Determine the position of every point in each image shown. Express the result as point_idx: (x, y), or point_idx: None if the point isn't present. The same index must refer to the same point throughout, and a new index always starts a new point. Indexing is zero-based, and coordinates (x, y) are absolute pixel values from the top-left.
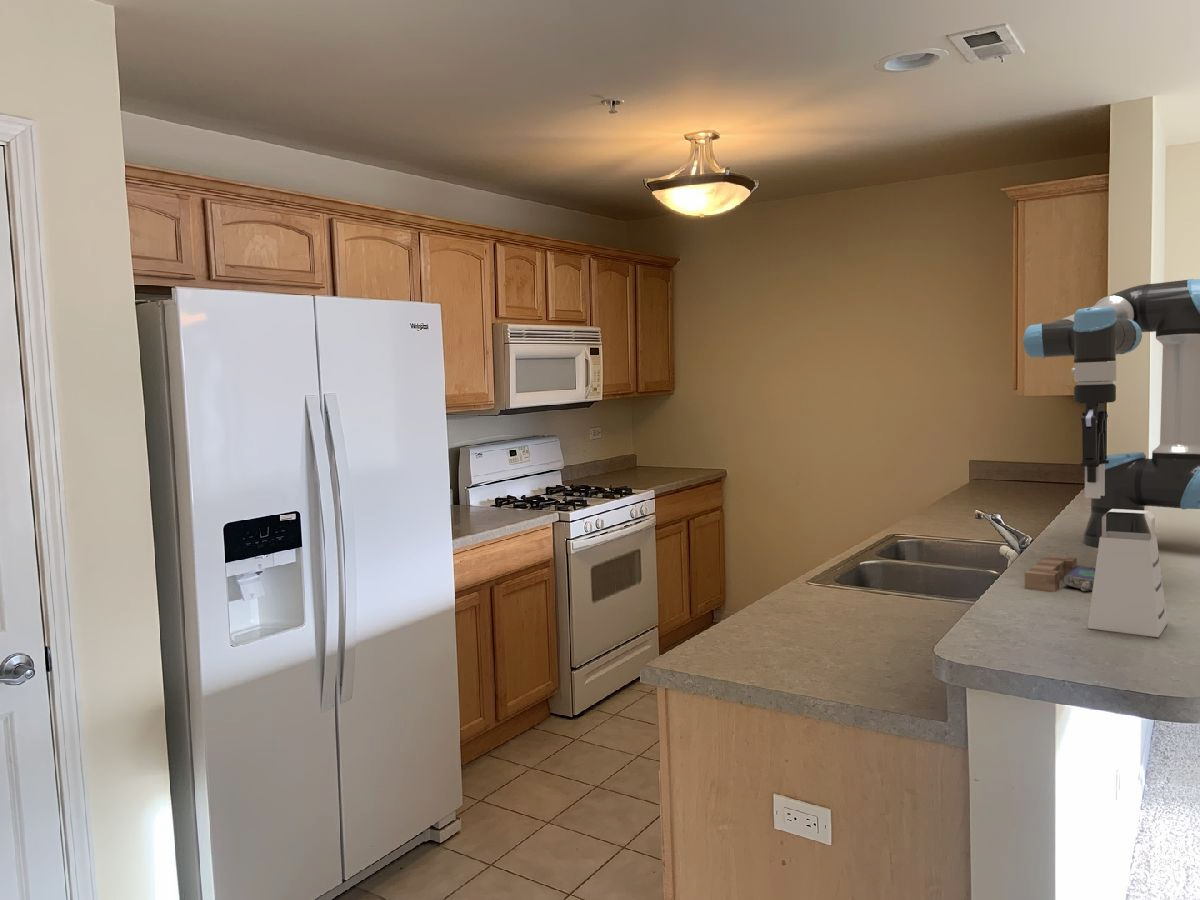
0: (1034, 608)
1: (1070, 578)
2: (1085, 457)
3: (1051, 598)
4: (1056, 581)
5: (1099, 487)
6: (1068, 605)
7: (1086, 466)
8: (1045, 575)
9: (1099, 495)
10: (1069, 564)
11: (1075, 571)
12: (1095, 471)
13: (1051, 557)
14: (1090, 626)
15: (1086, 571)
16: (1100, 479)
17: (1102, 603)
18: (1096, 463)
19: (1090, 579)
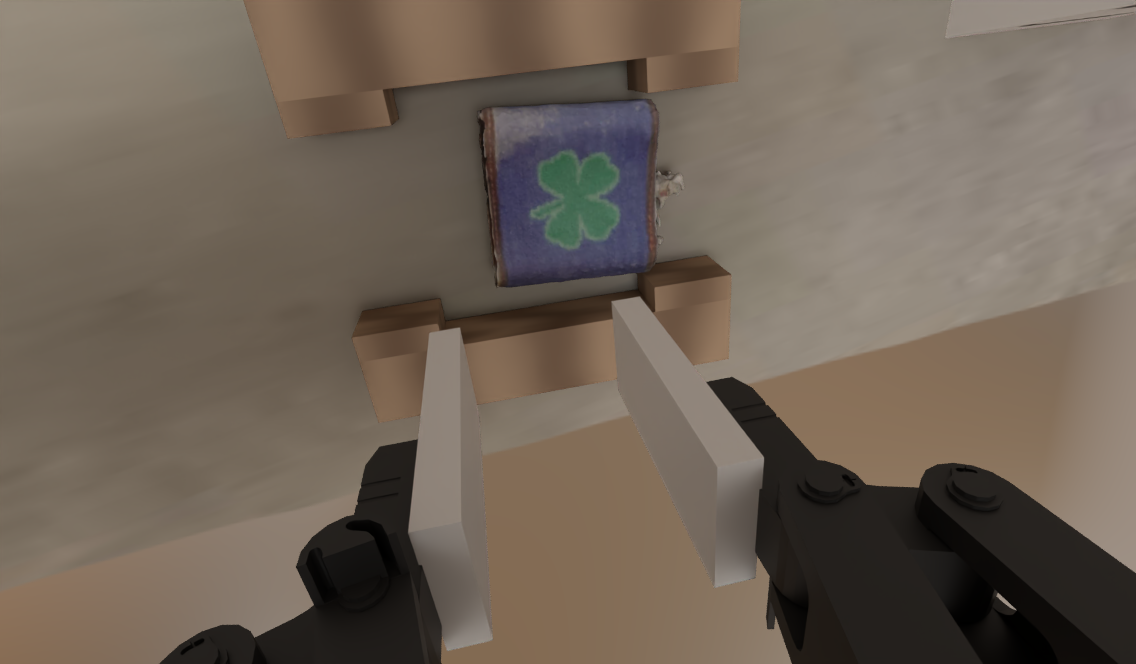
0: (925, 221)
1: (662, 241)
2: (1026, 624)
3: (787, 232)
4: (687, 270)
5: (668, 337)
6: (857, 159)
7: (746, 568)
8: (728, 299)
9: (646, 307)
10: (440, 327)
11: (596, 253)
12: (772, 445)
13: (417, 402)
14: (1118, 8)
15: (557, 227)
16: (468, 429)
17: None
18: (968, 467)
19: (655, 177)
